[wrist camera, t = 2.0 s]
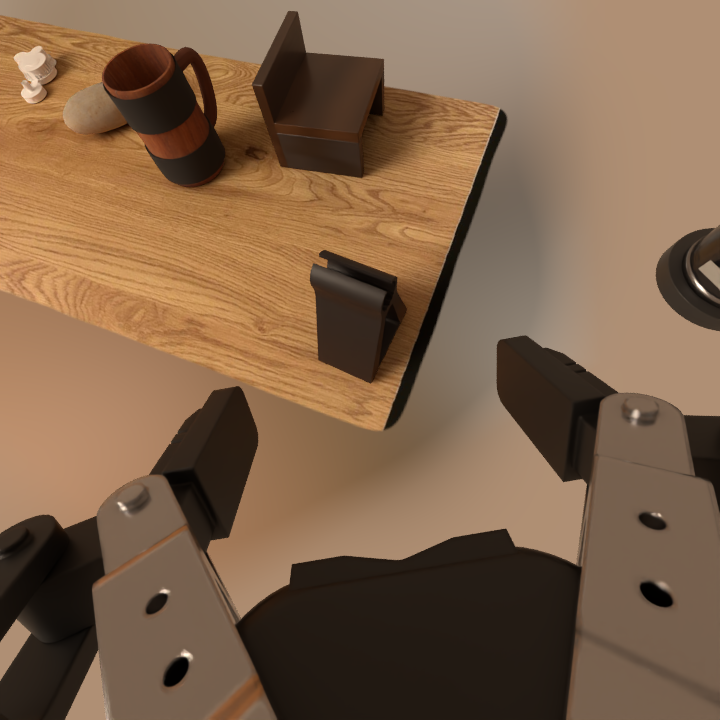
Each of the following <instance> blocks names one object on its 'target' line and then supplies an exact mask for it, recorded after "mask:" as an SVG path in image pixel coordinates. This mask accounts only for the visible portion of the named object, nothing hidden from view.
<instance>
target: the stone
mask: <svg viewBox="0 0 720 720" xmlns="http://www.w3.org/2000/svg"><path fill="white" fill-rule="evenodd" d="M63 119H64V122H65V124H66V125H67V126H68V127H69V128H70V129H71V130H73V131H75V132H77V133H81V134H97V133H103V132H106V131H109V130H113V129H116V128H118V127H121V126H123V125H125V124H127V121H126V120H125V118H124V117H123V115H122V114H121V112H120V111H119V110H118V108H117V107H116V105H115V104H114V102H113V101H112V100H111V98H110V97H109V95H108V94H107V93H106V91H105V90H104V87H103V82H101V83H98V84H95V85H92V86H90V87H88V88H85V89H83V90H81V91H79V92H77V93H75V94H74V95H73V96H71V97H70V98H69V100H68V101H67V103H66V105H65V107H64V110H63Z"/></svg>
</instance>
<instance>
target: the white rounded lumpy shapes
mask: <svg viewBox="0 0 720 720" xmlns="http://www.w3.org/2000/svg"><path fill="white" fill-rule="evenodd" d="M50 53H51V52H50ZM14 60H15V61H16V62H17V63H18V64H19V66H18V67H19V69H20V70H21V71H22V72H23V74H24V75H25V78H26V79H28V81H31V82H32V84H29V83H28V82H27V81H26V80H24V81H22V82H21V84H22V85H23V86H24V87H25V88H24V89H23V90H22V92H21V95H22V97H23V98H24V99H25V100H26V101H27V102H28V103H37V102H40V101H41V100H43V99H44V98H45V96H46V94H47V92H46V90H45V89H44V88H43V87H42V85H43V84H46V83H48V82H50V81H51V80H52V79H54V77H55V76H56V74H57V70H56V68H55V67H54V66H55V65H56V60H55V59H53V58H52V57H51V56H50V55H49V54H47V53H46V52H45V51H44V50H43V48H42V47H41V46H37V47H34V48H33V49H32V50H31V51H30V52H28V53H26V52H20V53H18V54H16V55H15V56H14Z"/></svg>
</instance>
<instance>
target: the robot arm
mask: <svg viewBox="0 0 720 720" xmlns="http://www.w3.org/2000/svg"><path fill="white" fill-rule="evenodd" d="M682 272H683V276H684V278H685V280H686V282H687V284H688V285H689V287H690V288H691V289H692V291H693V292H694V293H695V294H696V295H698V296H699V297H700V298H701V299H703V300H704V301H706V302H707V303H709V304H711V305H713V306H715V307H717V308H720V225H719V226H718V227H717V228H715V229H714V230H713V231H711V232H710V233H709V234H707V235H706V236H704V237H702V238H700V239H699V240H698V241H696V242H695V243H694V244H693V245H691V246H690V247H689V248H688V249H687V251H686V252H685V254H684V256H683V259H682ZM497 390H498V395H499V398H500V400H501V402H502V404H503V405H504V406H505V408H506V409H507V411H508V412H509V413H510V414H511V416H512V417H513V418H514V419H515V421H516V422H517V423H518V425H519V426H520V427H521V428H522V430H523V431H524V432H525V434H526V435H527V436H528V437H529V439H530V440H531V441H532V443H533V444H534V445H535V446H536V448H537V449H538V450H539V452H540V453H541V454H542V455H543V457H544V458H545V459H546V460H547V462H548V463H549V464H550V466H551V467H552V468H553V469H554V471H555V472H556V473H557V475H558V476H559V477H560V478H561V479H562V481H563V482H567V481H572V480H578V479H583V480H584V481H585V482H586V483H587V488H586V494H585V502H584V510H583V517H582V525H581V533H580V541H579V548H578V556H577V563H576V565H575V564H573V563H571V562H569V561H567V560H565V559H562V558H560V557H557V556H555V555H552V554H549V553H545V552H542V551H538V550H534V549H529V548H524V547H515V546H514V543H513V541H512V539H511V537H510V536H509V533H508V531H507V529H501V530H495V531H489V532H483V533H477V534H471V535H465V536H459V537H453V538H451V539H448V540H446V541H444V542H442V543H440V544H437V545H435V546H433V547H431V548H428V549H426V550H424V551H421V552H419V553H417V554H415V555H413V556H410V557H408V558H406V559H403V560H387V559H376V558H375V559H374V558H364V557H353V556H340V557H334V558H327V559H321V560H315V561H309V562H303V563H297V564H292V568H291V577H290V584H289V585H286V586H284V587H282V588H280V589H279V590H277V591H275V592H274V593H272V594H270V595H269V596H268V597H266V598H265V599H263V600H262V601H261V602H259V603H258V604H257V605H256V606H254V607H253V608H252V609H251V610H250V611H249V612H248V613H247V614H246V615H245V616H244V617H243V618H242V619H241V617H240V615H239V614H238V612H237V610H236V608H235V606H234V604H233V602H232V600H231V598H230V596H229V594H228V592H227V590H226V588H225V586H224V584H223V582H222V580H221V578H220V576H219V574H218V572H217V570H216V568H215V566H214V564H213V562H212V560H211V558H210V556H209V554H208V552H207V548H208V546H209V543H210V540H216V539H222V538H228V537H229V535H230V532H231V529H232V525H233V522H234V519H235V516H236V513H237V510H238V506H239V503H240V500H241V497H242V494H243V491H244V487H245V484H246V481H247V478H248V475H249V472H250V469H251V465H252V462H253V459H254V456H255V453H256V450H257V446H258V432H257V428H256V425H255V422H254V419H253V416H252V414H251V411H250V408H249V406H248V403H247V400H246V398H245V395H244V393H243V391H242V389H241V388H240V387H239V386H236V387H231V388H225V389H220V390H214V391H213V392H212V393H211V395H210V396H209V398H208V400H207V401H206V403H205V404H204V406H203V408H202V409H198V410H197V411H196V412H195V413H194V414H192V415H191V416H190V417H189V418H188V419H186V420H185V422H184V423H183V425H182V426H181V428H180V429H179V431H178V434H176V435H175V437H174V438H173V440H172V441H171V444H169V446H168V447H167V448H166V450H165V452H164V453H163V454H162V456H161V457H160V459H159V460H158V462H157V464H156V465H155V466H154V468H153V469H152V471H151V473H150V474H149V475H147V476H143V477H140V478H137V479H135V480H133V481H131V482H129V483H127V484H125V485H123V486H122V487H121V488H119V489H118V490H116V491H115V492H114V493H112V494H111V495H110V496H109V497H108V498H107V499H106V500H105V501H104V503H103V504H102V505H101V507H100V508H99V510H98V513H97V516H95V517H93V518H90V519H88V520H85V521H83V522H80V523H78V524H75V525H72V526H70V527H67V528H65V529H63V528H62V527H61V525H60V524H59V523H58V522H57V520H56V519H55V518H54V517H53V516H50V515H39V516H35V517H32V518H29V519H26V520H24V521H22V522H20V523H18V524H16V525H14V526H12V527H10V528H9V529H7V530H5V531H4V532H2V533H1V534H0V641H1V640H2V639H3V637H4V636H5V634H6V633H7V631H8V630H9V629H10V627H11V626H12V624H13V623H14V622H15V620H16V619H17V620H18V621H19V622H20V623H21V624H22V625H24V626H25V627H26V628H27V629H28V630H29V631H30V632H31V635H30V636H29V638H28V639H27V641H26V642H25V644H24V645H23V647H22V648H21V650H20V652H19V653H18V655H17V656H16V658H15V659H14V661H13V662H12V664H11V665H10V667H9V668H8V670H7V671H6V673H5V675H4V676H3V678H2V679H1V681H0V720H65V718H66V716H67V714H68V712H69V710H70V708H71V706H72V703H73V701H74V699H75V697H76V695H77V693H78V691H79V689H80V686H81V684H82V682H83V680H84V678H85V676H86V674H87V672H88V670H89V668H90V666H91V664H92V662H93V660H94V657H95V655H96V653H97V651H98V649H99V658H100V668H101V677H102V685H103V695H104V704H105V713H106V720H720V416H690V415H688V416H687V415H683V414H682V413H681V411H680V410H679V409H678V408H676V407H675V406H673V405H672V404H670V403H668V402H666V401H664V400H662V399H659V398H656V397H653V396H649V395H644V394H638V393H637V394H636V393H618V392H617V391H615V390H614V389H613V388H611V387H610V386H608V385H607V384H606V383H604V382H603V381H601V380H600V379H599V378H597V377H596V376H594V375H593V374H592V373H590V372H586V369H584V368H583V367H582V366H580V365H579V364H576V362H575V361H573V360H572V359H570V358H569V357H567V356H566V355H565V354H563V353H560V352H557V351H554V350H552V349H549V348H542V347H541V346H540V345H538V344H537V343H536V342H534V341H533V340H531V339H530V338H529V337H527V336H519V337H513V338H508V339H502V340H500V341H499V342H498V344H497Z"/></svg>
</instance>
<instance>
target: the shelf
mask: <svg viewBox="0 0 720 720" xmlns="http://www.w3.org/2000/svg"><path fill="white" fill-rule="evenodd" d="M252 86H253V89H254V92H255V95H256V98H257V101H258V103H259V106H260V109H261V112H262V115H263V118H264V120H265V123H266V126H267V129H268V132H269V135H270V138H271V140H272V143H273V146H274V149H275V152H276V155H277V157H278V160H279V163H280V166H281V167H288V168H296V169H303V170H310V171H317V172H324V173H332V174H339V175H346V176H353V177H360V178H362V177H363V174H364V160H363V148H362V136H361V135H362V133H363V130H364V127H365V124H366V121H367V118H368V115H369V114H373V115H383V112H384V109H385V108H384V59H377V58H365V57H353V56H341V55H329V54H317V53H306V50H305V45H304V41H303V35H302V30H301V25H300V20H299V16H298V12H295V11H288V13H287V15H286V17H285V19H284V21H283V23H282V25H281V27H280V29H279V31H278V33H277V35H276V37H275V39H274V41H273V43H272V45H271V47H270V49H269V51H268V53H267V55H266V57H265V59H264V61H263V63H262V65H261V67H260V69H259V71H258V73H257V75H256V77H255V79H254V81H253V83H252Z"/></svg>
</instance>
